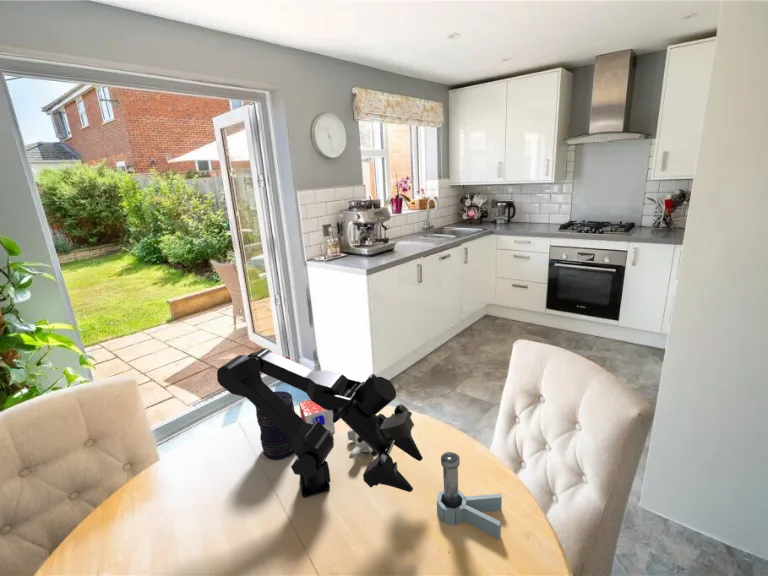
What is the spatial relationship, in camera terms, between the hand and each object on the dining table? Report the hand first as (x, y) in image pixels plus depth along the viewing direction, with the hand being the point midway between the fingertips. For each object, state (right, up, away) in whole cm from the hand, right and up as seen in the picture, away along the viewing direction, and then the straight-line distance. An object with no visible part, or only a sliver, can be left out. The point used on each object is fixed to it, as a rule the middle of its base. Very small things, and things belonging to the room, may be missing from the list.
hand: (416, 474), depth 83 cm
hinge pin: (+8, -8, 0) cm, 11 cm away
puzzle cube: (-27, -2, +32) cm, 41 cm away
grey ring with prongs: (+11, -8, -1) cm, 14 cm away
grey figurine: (-12, -4, +22) cm, 26 cm away
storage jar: (-36, -4, +24) cm, 43 cm away
